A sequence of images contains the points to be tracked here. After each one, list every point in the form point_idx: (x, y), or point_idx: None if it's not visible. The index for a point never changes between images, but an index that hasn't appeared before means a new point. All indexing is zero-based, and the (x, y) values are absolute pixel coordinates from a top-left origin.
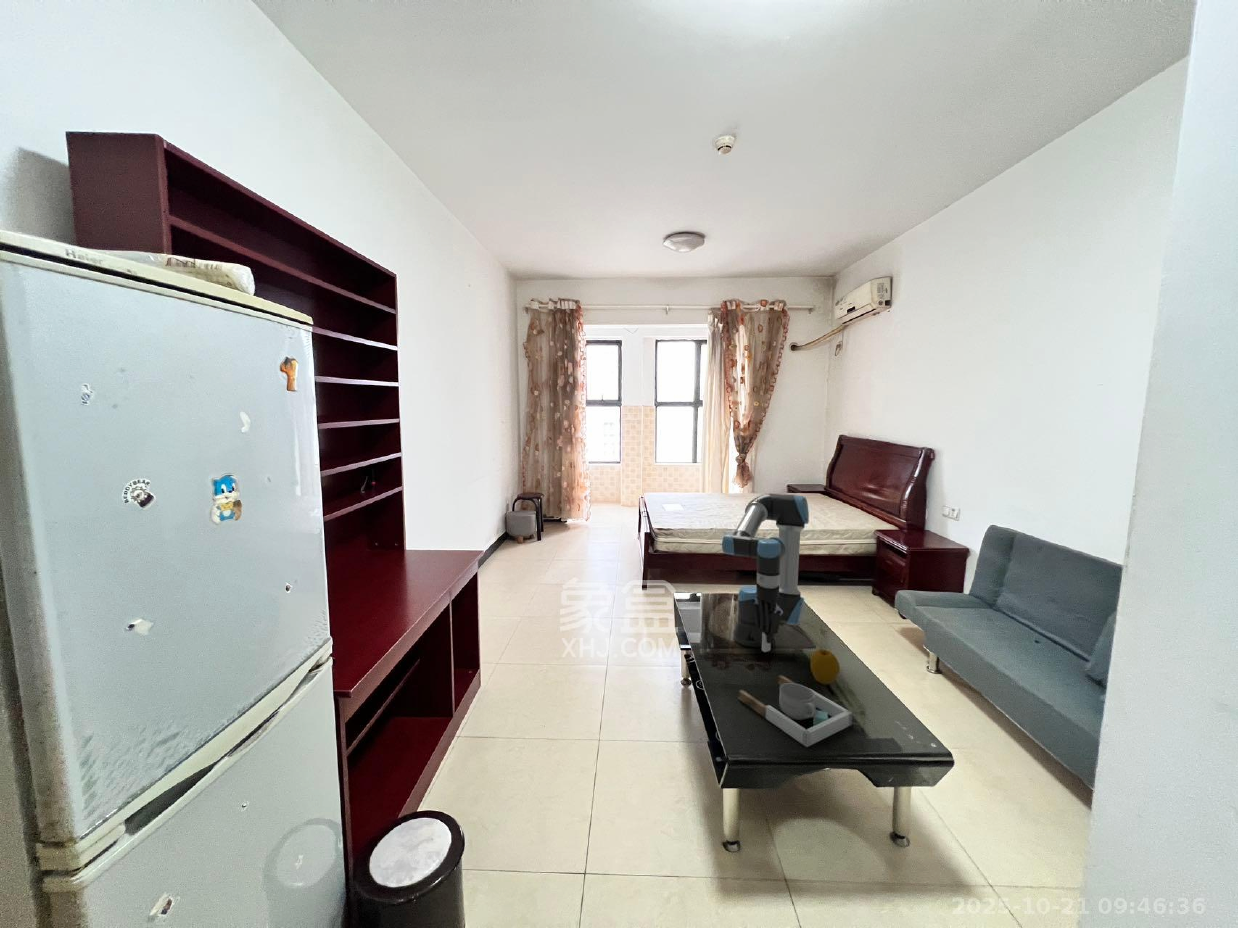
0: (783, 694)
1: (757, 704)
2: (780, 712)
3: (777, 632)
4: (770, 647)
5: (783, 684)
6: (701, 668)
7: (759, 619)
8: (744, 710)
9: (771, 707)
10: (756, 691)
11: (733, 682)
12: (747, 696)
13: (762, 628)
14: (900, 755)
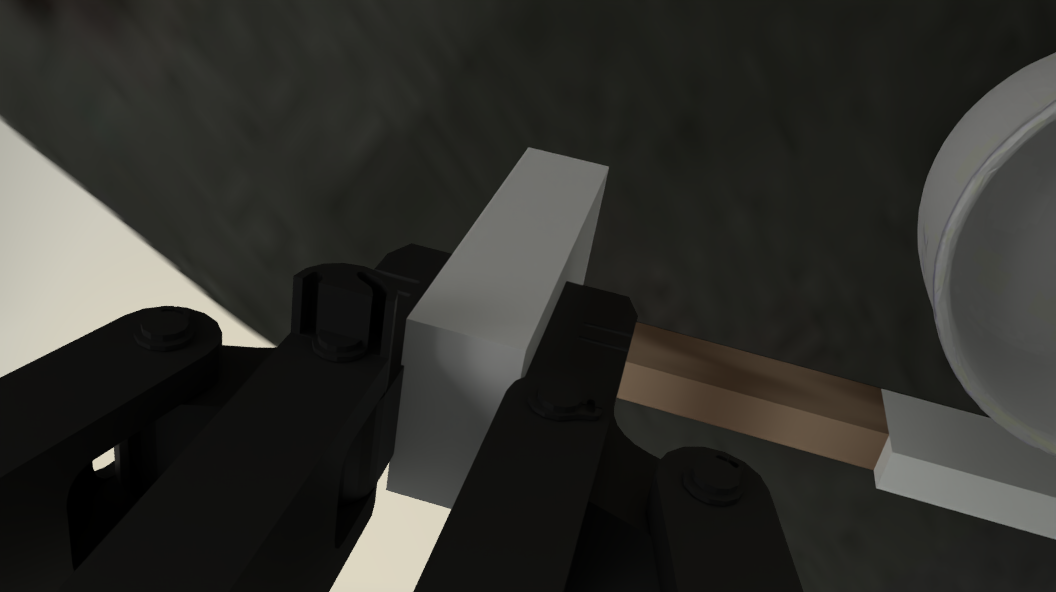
0: (1043, 448)
1: (769, 434)
2: (1036, 493)
3: (768, 492)
4: (599, 186)
5: (953, 244)
6: (32, 139)
7: (48, 571)
8: (677, 435)
9: (927, 473)
10: (587, 106)
11: (351, 130)
12: (641, 401)
13: (344, 554)
14: None
